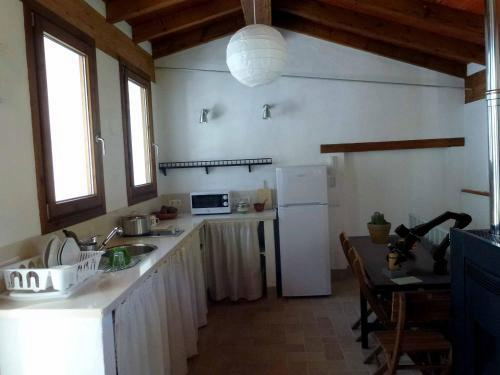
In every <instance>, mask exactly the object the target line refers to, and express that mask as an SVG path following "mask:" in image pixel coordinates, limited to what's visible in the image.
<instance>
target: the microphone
mask: <svg viewBox="0 0 500 375" xmlns="http://www.w3.org/2000/svg"><path fill="white" fill-rule="evenodd" d="M389 254H390V253H388V254H387V255H386V256H385V259H386V262H388V263H389ZM398 265H399V267H400V268H402V269H403V267H402V265H401V263H400V264H398Z"/></svg>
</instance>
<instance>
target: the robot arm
mask: <svg viewBox="0 0 500 375" xmlns="http://www.w3.org/2000/svg"><path fill="white" fill-rule="evenodd" d="M449 220H455V221H454V225H453V226H452V227H451V229H452V228H459V229H462V230H463V229H465V228H467V227H468V226H469V225H470V224H471V223H472V222H473V217H472V216H471V215H470V214H468V213H465V212H460V213H459V212H453V211H450V210H446V211H445V212H443V213H442V214H440V215H438V216H437V217H434V218H433V219H431V220H429V221H427V222H424V223H420V224H418V225H415V226H414V227H410V228H408V227H407V226H406V225H405V224H403V223H401V224H400V225H398V226H396V228H394V230H393V233H395V234H396V235H397V236H399V237H400V238H401V239H403V241H402V240H399V241H397V240H394V239H392V240H391V242H390V245H389V246H388V247H387V249H388V250H389V252H390V253H397V254H398V256H399V257H398V258H397V260H396V261H395V263H394V266H396V265H398V264H400V265H401V264H403V263H404V262H408V261H410V262H413V261H414V260H415V256H414V255H413V254H412V253H411V252H410V250H411V251H412V250H413V246H414V245H415V244H416V243H422V240H421V238H422V237H425V236H427V234H428V233H429V232H430V231H431V230H432V229H434V228H436V227H439V226H440V225H441V224H444V223H445V222H447V221H449ZM449 240H450V239H449V232H448V233H447V234H446V236H444V238H443V239H442V241H441V242H440V243H439V244H438V245H435V244H434V245H433V246H432V248H431V249H430V250H429V251H430V252H429V257H430V258H431V259H432V260H433V261H434V262H433V265H432V266H433V267H432V268H433V271H432V273H433V274H435V275H437V276H444V274H446V275H449V274H450V273H449V272H448V262H449V261H448V260H447V259H446V258H445V256H446V253H447V250H448V248H449V247H450V246H451V244H450V241H449Z"/></svg>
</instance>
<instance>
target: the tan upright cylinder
mask: <svg viewBox="0 0 500 375" xmlns="http://www.w3.org/2000/svg"><path fill="white" fill-rule="evenodd" d="M388 254H389V262H388V263H389V265H388V267H389V270H390V271H392V272H393V271H399V265H396V266H394V263H395V261H396V260H397V258H398V257H399V254H397V253H391V252H390V253H388Z"/></svg>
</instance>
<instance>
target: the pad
mask: <svg viewBox="0 0 500 375" xmlns="http://www.w3.org/2000/svg"><path fill="white" fill-rule="evenodd" d="M389 279H390V281H392V282H394V283H395V284H398V285H400V286H401V285H407V284H408V285H409V284H416V283H423V280H421V279H419V278H417V277H415V276H412V275H411V276H405V277H397V278H389Z"/></svg>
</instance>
